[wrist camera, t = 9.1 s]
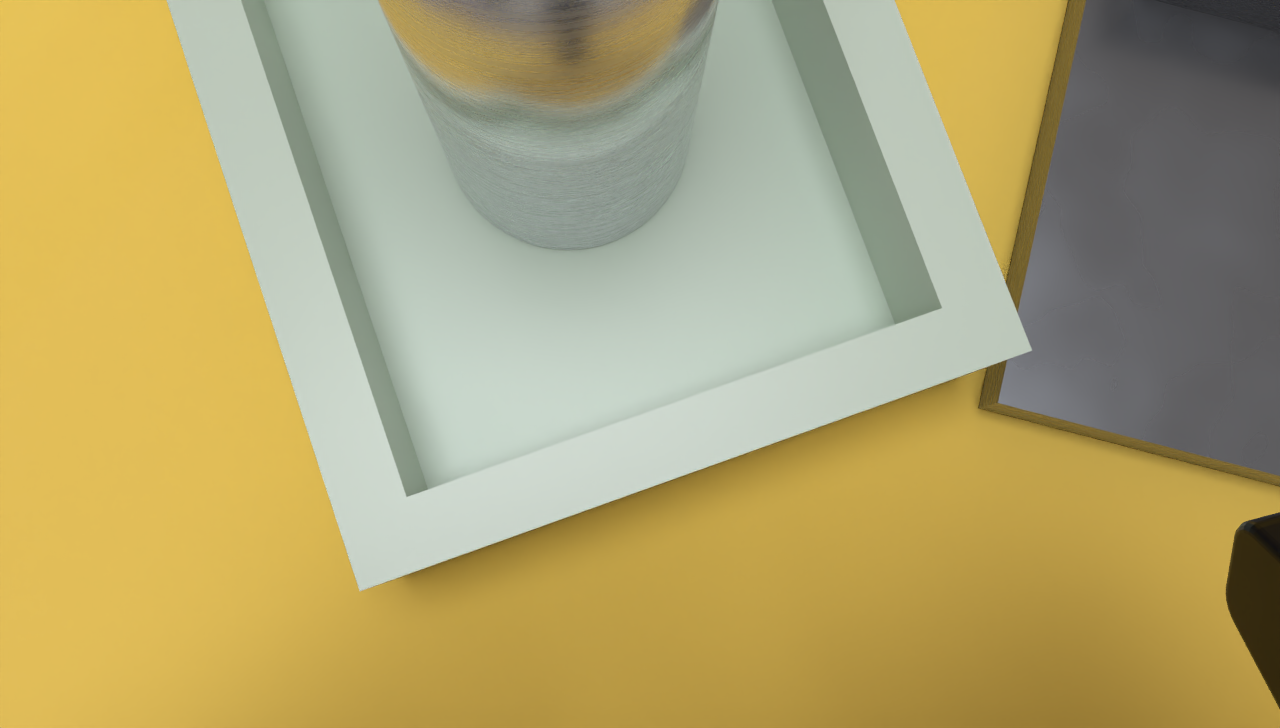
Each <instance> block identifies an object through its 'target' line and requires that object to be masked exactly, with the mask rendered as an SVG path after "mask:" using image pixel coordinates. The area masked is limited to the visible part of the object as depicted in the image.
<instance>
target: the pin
mask: <svg viewBox="0 0 1280 728" xmlns="http://www.w3.org/2000/svg"><path fill="white" fill-rule="evenodd" d="M718 1H719V0H378V2H379V5H380V7H381V9H382V12H383V14H384V16H385V18H386V21H387V23H388V25H389V27H390V30H391V32H392V34H393V37H394V39H395V41H396V43H397V46H398V48H399V50H400V53H401V55H402V57H403V59H404V62H405V64H406V66H407V69H408V71H409V73H410V75H411V78H412V80H413V82H414V84H415V87H416V89H417V91H418V94H419V96H420V98H421V100H422V103H423V105H424V107H425V110H426V112H427V114H428V116H429V119H430V121H431V123H432V126H433V128H434V130H435V132H436V135H437V137H438V139H439V141H440V144H441V146H442V148H443V151H444V153H445V155H446V157H447V160H448V162H449V164H450V167H451V169H452V171H453V173H454V176H455V178H456V180H457V182H458V184H459V186H460V188H461V190H462V191H463V193H464V194H465V196H466V197H467V199H468V200H469V202H470V203H471V204H472V205H473V207H474V208H475V209H476V210H477V211H478V212H479V213H480V214H481V215H482V216H483V217H484V218H485V219H486V220H487V221H489V222H490V223H491V224H492V225H493V226H495V227H497V228H498V229H500V230H501V231H503V232H504V233H506V234H508V235H510V236H512V237H514V238H516V239H518V240H520V241H523V242H526V243H529V244H532V245H535V246H539V247H544V248H550V249H561V250H575V249H586V248H591V247H596V246H601V245H604V244H607V243H610V242H613V241H616V240H618V239H620V238H622V237H624V236H626V235H628V234H630V233H631V232H633V231H634V230H636V229H637V228H639V227H641V226H642V225H643V224H645V223H646V222H647V221H648V220H649V219H650V218H651V217H653V216H654V215H655V214H656V213H657V212H658V210H659V209H660V208H661V207H662V206H663V205H664V204H665V202H666V201H667V199H668V198H669V197H670V195H671V194H672V192H673V191H674V189H675V187H676V185H677V183H678V181H679V179H680V177H681V174H682V171H683V168H684V165H685V162H686V158H687V153H688V148H689V143H690V138H691V133H692V128H693V123H694V118H695V114H696V109H697V104H698V99H699V94H700V89H701V84H702V79H703V74H704V70H705V65H706V60H707V55H708V50H709V45H710V40H711V35H712V30H713V26H714V21H715V16H716V11H717V6H718Z"/></svg>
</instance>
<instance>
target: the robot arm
mask: <svg viewBox="0 0 1280 728" xmlns="http://www.w3.org/2000/svg"><path fill="white" fill-rule="evenodd" d="M1226 601H1227V605H1228V609H1229V612H1230V614H1231V617H1232V619H1233V621H1234V623H1235V625H1236V627H1237V629H1238V631H1239V633H1240V635H1241V637H1242V639H1243V640H1244V642H1245V644H1246V646H1247V648H1248V650H1249V652H1250V654H1251V656H1252V657H1253V659H1254V661H1255V663H1256V665H1257V667H1258V669H1259V671H1260V673H1261V674H1262V676H1263V678H1264V680H1265V682H1266V684H1267V686H1268V688H1269V690H1270V691H1271V693H1272V695H1273V697H1274V699H1275V701H1276V703H1277V705H1278V707H1279V709H1280V513H1276V514H1272V515H1268V516H1264V517H1261V518H1257V519H1253V520H1249V521H1246V522H1244V523H1242V524H1241V525H1240V526H1239V528H1238V529H1237V530H1236V533H1235V536H1234V542H1233V548H1232V554H1231V560H1230V566H1229V572H1228V578H1227V584H1226Z"/></svg>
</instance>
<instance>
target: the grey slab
mask: <svg viewBox="0 0 1280 728" xmlns="http://www.w3.org/2000/svg"><path fill="white" fill-rule="evenodd" d="M1006 285H1007V288H1008V290H1009V293H1010V295H1011V298H1012V300H1013V303H1014V306H1015V308H1016V311H1017V313H1018V316H1019V318H1020V321H1021V323H1022V326H1023V328H1024V331H1025V333H1026V336H1027V339H1028V341H1029V344H1030V346H1031V349H1032V351H1030V352H1027V353H1024V354H1021V355H1019V356H1016V357H1013V358H1010V359H1008V360H1005V361H1002V362H1000V363H997V364H994V365H991V366H989V367H988V368H987V372H986V377H985V381H984V386H983V390H982V395H981V399H980V404H979V408H980V409H984V410H988V411H992V412H996V413H1000V414H1003V415H1007V416H1011V417H1015V418H1019V419H1023V420H1027V421H1030V422H1034V423H1038V424H1042V425H1046V426H1050V427H1054V428H1057V429H1061V430H1065V431H1069V432H1073V433H1077V434H1081V435H1084V436H1088V437H1092V438H1096V439H1100V440H1104V441H1108V442H1111V443H1115V444H1119V445H1123V446H1127V447H1131V448H1135V449H1139V450H1142V451H1146V452H1150V453H1154V454H1158V455H1162V456H1166V457H1169V458H1173V459H1177V460H1181V461H1185V462H1189V463H1193V464H1196V465H1200V466H1204V467H1208V468H1212V469H1216V470H1220V471H1223V472H1227V473H1231V474H1235V475H1239V476H1243V477H1247V478H1250V479H1254V480H1258V481H1262V482H1266V483H1270V484H1274V485H1277V486H1280V0H1069V2H1068V6H1067V11H1066V15H1065V20H1064V24H1063V29H1062V33H1061V38H1060V42H1059V47H1058V51H1057V56H1056V60H1055V65H1054V70H1053V74H1052V79H1051V83H1050V88H1049V92H1048V97H1047V101H1046V106H1045V110H1044V115H1043V119H1042V124H1041V128H1040V133H1039V137H1038V142H1037V146H1036V151H1035V155H1034V160H1033V164H1032V169H1031V173H1030V178H1029V182H1028V187H1027V192H1026V196H1025V201H1024V205H1023V210H1022V214H1021V219H1020V223H1019V228H1018V232H1017V237H1016V241H1015V246H1014V250H1013V255H1012V259H1011V264H1010V268H1009V273H1008V277H1007V282H1006Z"/></svg>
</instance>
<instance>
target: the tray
mask: <svg viewBox="0 0 1280 728" xmlns="http://www.w3.org/2000/svg"><path fill="white" fill-rule="evenodd" d="M167 3H168V6H169V9H170V12H171V15H172V18H173V21H174V24H175V27H176V30H177V33H178V36H179V39H180V43H181V46H182V49H183V52H184V55H185V58H186V61H187V64H188V67H189V70H190V73H191V76H192V79H193V82H194V85H195V88H196V91H197V95H198V98H199V101H200V104H201V107H202V110H203V113H204V116H205V119H206V122H207V125H208V128H209V131H210V134H211V137H212V140H213V143H214V147H215V150H216V153H217V156H218V159H219V162H220V165H221V168H222V171H223V174H224V177H225V180H226V183H227V186H228V189H229V192H230V196H231V199H232V202H233V205H234V208H235V211H236V214H237V217H238V220H239V223H240V226H241V229H242V232H243V235H244V238H245V241H246V244H247V248H248V251H249V254H250V257H251V260H252V263H253V266H254V269H255V272H256V275H257V278H258V281H259V284H260V287H261V290H262V293H263V296H264V300H265V303H266V306H267V309H268V312H269V315H270V318H271V321H272V324H273V327H274V330H275V333H276V336H277V339H278V342H279V345H280V348H281V352H282V355H283V358H284V361H285V364H286V367H287V370H288V373H289V376H290V379H291V382H292V385H293V388H294V391H295V394H296V397H297V401H298V404H299V407H300V410H301V413H302V416H303V419H304V422H305V425H306V428H307V431H308V434H309V437H310V440H311V443H312V446H313V449H314V453H315V456H316V459H317V462H318V465H319V468H320V471H321V474H322V477H323V480H324V483H325V486H326V489H327V492H328V495H329V498H330V501H331V505H332V508H333V511H334V514H335V517H336V520H337V523H338V526H339V529H340V532H341V535H342V538H343V541H344V544H345V547H346V550H347V554H348V557H349V560H350V563H351V566H352V569H353V572H354V575H355V578H356V581H357V584H358V587H359V590H360V591H362V590H365V589H368V588H371V587H374V586H377V585H379V584H382V583H385V582H388V581H391V580H394V579H397V578H400V577H403V576H406V575H408V574H411V573H414V572H417V571H419V570H422V569H425V568H428V567H431V566H433V565H436V564H439V563H442V562H445V561H447V560H450V559H453V558H456V557H459V556H461V555H464V554H467V553H470V552H473V551H475V550H478V549H481V548H484V547H487V546H489V545H492V544H495V543H498V542H500V541H503V540H506V539H509V538H512V537H514V536H517V535H520V534H523V533H526V532H528V531H531V530H534V529H537V528H540V527H542V526H545V525H548V524H551V523H554V522H556V521H559V520H562V519H565V518H568V517H570V516H573V515H576V514H579V513H582V512H584V511H587V510H590V509H593V508H595V507H598V506H601V505H604V504H607V503H609V502H612V501H615V500H618V499H621V498H623V497H626V496H629V495H632V494H635V493H637V492H640V491H643V490H646V489H649V488H651V487H654V486H657V485H660V484H663V483H665V482H668V481H671V480H674V479H676V478H679V477H682V476H685V475H688V474H690V473H693V472H696V471H699V470H702V469H704V468H707V467H710V466H713V465H716V464H718V463H721V462H724V461H727V460H730V459H732V458H735V457H738V456H741V455H744V454H746V453H749V452H752V451H755V450H757V449H760V448H763V447H766V446H769V445H771V444H774V443H777V442H780V441H783V440H785V439H788V438H791V437H794V436H797V435H799V434H802V433H805V432H808V431H811V430H813V429H816V428H819V427H822V426H825V425H827V424H830V423H833V422H836V421H838V420H841V419H844V418H847V417H850V416H852V415H855V414H858V413H861V412H864V411H866V410H869V409H872V408H875V407H878V406H880V405H883V404H886V403H889V402H892V401H894V400H897V399H900V398H903V397H906V396H908V395H911V394H914V393H917V392H919V391H922V390H925V389H928V388H931V387H933V386H936V385H939V384H942V383H945V382H947V381H950V380H953V379H956V378H959V377H961V376H964V375H967V374H970V373H972V372H975V371H978V370H980V369H983V368H986V367H989V366H991V365H994V364H997V363H1000V362H1002V361H1005V360H1008V359H1010V358H1013V357H1016V356H1019V355H1021V354H1024V353H1027V352H1030V351H1032V349H1031V346H1030V344H1029V341H1028V339H1027V336H1026V333H1025V331H1024V328H1023V326H1022V323H1021V321H1020V318H1019V316H1018V313H1017V311H1016V308H1015V306H1014V303H1013V300H1012V298H1011V295H1010V293H1009V290H1008V288H1007V285H1006V283H1005V280H1004V278H1003V275H1002V272H1001V270H1000V267H999V265H998V262H997V260H996V257H995V255H994V252H993V250H992V247H991V245H990V242H989V239H988V237H987V234H986V232H985V229H984V227H983V224H982V222H981V219H980V217H979V214H978V211H977V209H976V206H975V204H974V201H973V199H972V196H971V194H970V191H969V189H968V186H967V184H966V181H965V178H964V176H963V173H962V171H961V168H960V166H959V163H958V161H957V158H956V156H955V153H954V150H953V148H952V145H951V143H950V140H949V138H948V135H947V133H946V130H945V128H944V125H943V123H942V120H941V117H940V115H939V112H938V110H937V107H936V105H935V102H934V100H933V97H932V95H931V92H930V89H929V87H928V84H927V82H926V79H925V77H924V74H923V72H922V69H921V67H920V64H919V62H918V59H917V56H916V54H915V51H914V49H913V46H912V44H911V41H910V39H909V36H908V34H907V31H906V28H905V26H904V23H903V21H902V18H901V16H900V13H899V11H898V8H897V6H896V3H895V1H894V0H719V1H718V6H717V11H716V16H715V21H714V26H713V30H712V35H711V40H710V45H709V50H708V55H707V60H706V65H705V70H704V74H703V79H702V84H701V89H700V94H699V99H698V104H697V109H696V114H695V118H694V123H693V128H692V133H691V138H690V143H689V148H688V153H687V158H686V162H685V165H684V168H683V171H682V174H681V177H680V179H679V181H678V183H677V185H676V187H675V189H674V191H673V192H672V194H671V195H670V197H669V198H668V199H667V201H666V202H665V204H664V205H663V206H662V207H661V208H660V209H659V210H658V212H657V213H656V214H655V215H654V216H653V217H651V218H650V219H649V220H648V221H647V222H646V223H645V224H643V225H642V226H641V227H639V228H637V229H636V230H634V231H633V232H631V233H630V234H628V235H626V236H624V237H622V238H620V239H618V240H616V241H613V242H610V243H607V244H604V245H601V246H596V247H591V248H586V249H575V250H561V249H550V248H544V247H539V246H535V245H532V244H529V243H526V242H523V241H520V240H518V239H516V238H514V237H512V236H510V235H508V234H506V233H504V232H503V231H501V230H500V229H498V228H497V227H495V226H493V225H492V224H491V223H490V222H489V221H487V220H486V219H485V218H484V217H483V216H482V215H481V214H480V213H479V212H478V211H477V210H476V209H475V208H474V207H473V205H472V204H471V203H470V202H469V200H468V199H467V197H466V196H465V194H464V193H463V191H462V190H461V188H460V186H459V184H458V182H457V180H456V178H455V176H454V173H453V171H452V169H451V167H450V164H449V162H448V160H447V157H446V155H445V153H444V151H443V148H442V146H441V144H440V141H439V139H438V137H437V135H436V132H435V130H434V128H433V126H432V123H431V121H430V119H429V116H428V114H427V112H426V110H425V107H424V105H423V103H422V100H421V98H420V96H419V94H418V91H417V89H416V87H415V84H414V82H413V80H412V78H411V75H410V73H409V71H408V69H407V66H406V64H405V62H404V59H403V57H402V55H401V53H400V50H399V48H398V46H397V43H396V41H395V39H394V37H393V34H392V32H391V30H390V27H389V25H388V23H387V21H386V18H385V16H384V14H383V12H382V9H381V7H380V5H379V2H378V0H167Z"/></svg>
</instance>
